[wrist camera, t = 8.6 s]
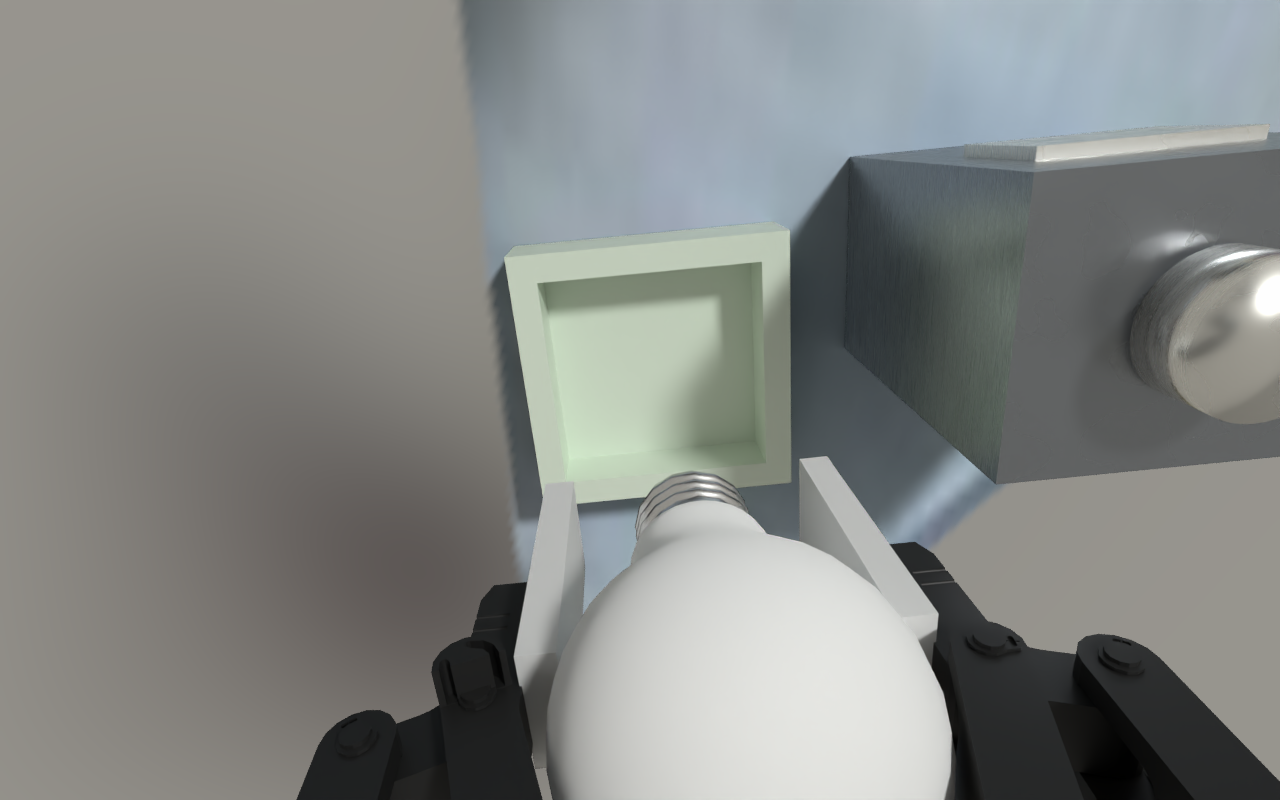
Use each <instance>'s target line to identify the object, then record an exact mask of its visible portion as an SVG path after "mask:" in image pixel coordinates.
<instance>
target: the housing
mask: <svg viewBox="0 0 1280 800" xmlns="http://www.w3.org/2000/svg"><path fill="white" fill-rule="evenodd" d="M1269 127H1270V124H1247V125H1197V126H1155V127H1145V128H1134V129H1124V130H1113V131H1103V132H1092V133H1082V134H1071V135H1061V136H1050V137H1040V138H1029V139H1019V140H1008V141H998V142H987V143H977V144H966V145H964V146H960V147H949V148H939V149H928V150H918V151H907V152H897V153H886V154H876V155H865V156H855V157H850V176H849V215H848V253H847V291H846V329H845V349H846V350H847V351H848V352H849V353H850V354H852V355H853V356H854V357H855V358H856V359H857V360H858V361H859V362H860V363H862V364H863V365H864V366H865V367H866V368H867V369H868V370H869V371H870V372H872V373H873V374H874V375H875V376H876V377H877V378H878V379H879V380H880V381H882V382H883V383H884V384H885V385H886V386H887V387H888V388H889V389H890V390H892V391H893V392H894V393H895V394H896V395H897V396H898V397H899V398H900V399H902V400H903V401H904V402H905V403H906V404H907V405H908V406H909V407H910V408H912V409H913V410H914V411H915V412H916V413H917V414H918V415H919V416H920V417H922V418H923V419H924V420H925V421H926V422H927V423H928V424H929V425H930V426H931V427H933V428H934V429H935V430H936V431H937V432H938V433H939V434H940V435H941V436H943V437H944V438H945V439H946V440H947V441H948V442H949V443H950V444H951V445H953V446H954V447H955V448H956V449H957V450H958V451H959V452H960V453H961V454H963V455H964V456H965V457H966V458H967V459H968V460H969V461H970V462H971V463H973V464H974V465H975V466H976V467H977V468H978V469H979V470H980V471H981V472H983V473H984V474H985V475H986V476H987V477H988V478H989V479H990V480H991V481H993V482H994V483H995V484H1006V483H1016V482H1025V481H1036V480H1047V479H1057V478H1067V477H1077V476H1087V475H1097V474H1107V473H1118V472H1128V471H1138V470H1148V469H1158V468H1169V467H1177V466H1188V465H1198V464H1208V463H1219V462H1228V461H1240V460H1250V459H1260V458H1270V457H1280V132H1278V133H1268V131H1269Z"/></svg>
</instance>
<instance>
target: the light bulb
mask: <svg viewBox="0 0 1280 800" xmlns="http://www.w3.org/2000/svg"><path fill="white" fill-rule="evenodd" d="M635 529H636V538H637V543H636V546H635V549H634V552H633V555H632V558H631V565H630V566H629V567H628V568H626V569H625V570H624V571H622V572H621V573H620V574H619V575H617V576H616V577H615V578H614V579H613V580H611V581H610V582H609V584H608V585H607V586H606V587H605V588H604V589H603V590H602V591H601V592H600V593H599V594H598V595H597V596H596V598H595V599H594V600H593V601H592V602H591V603H590V604H589V606H588V608H587V609H586V611H585V612H584V614H583V616H582V617H581V619H580V621H579V622H578V624H577V626H576V627H575V629H574V631H573V633H572V635H571V637H570V638H569V640H568V642H567V644H566V646H565V648H564V650H563V652H562V655H561V658H560V662H559V665H558V668H557V671H556V674H555V677H554V681H553V685H552V690H551V694H550V699H549V703H548V709H547V725H546V766H547V775H548V780H549V785H550V789H551V794H552V799H553V800H954V798H955V774H956V754H955V749H954V743H953V737H952V731H951V726H950V722H949V717H948V712H947V708H946V703H945V698H944V694H943V691H942V689H941V687H940V685H939V683H938V681H937V679H936V677H935V674H934V672H933V670H932V668H931V666H930V664H929V662H928V660H927V658H926V656H925V654H924V652H923V649H922V647H921V645H920V643H919V641H918V639H917V637H916V635H915V634H914V632H913V631H912V630H911V629H910V627H909V626H908V625H907V624H906V623H905V621H904V620H903V619H902V618H901V617H900V615H899V614H898V613H897V612H896V611H895V609H894V608H893V607H892V606H891V605H890V603H889V602H888V601H887V600H886V599H885V598H884V596H883V595H882V594H881V593H880V592H879V590H878V589H877V588H876V587H875V586H873V585H872V584H871V583H869V582H868V581H867V580H865V579H864V578H862V577H861V576H860V575H858V574H857V573H856V572H854V571H853V570H852V569H850V568H849V567H847V566H846V565H844V564H843V563H842V562H840V561H839V560H837V559H836V558H834V557H833V556H831V555H830V554H827V553H825V552H823V551H821V550H819V549H816V548H814V547H812V546H810V545H808V544H805V543H803V542H799V541H795V540H791V539H787V538H783V537H779V536H774V535H770V534H766V532H765V530H764V529H763V528H762V527H761V526H760V525H759V524H758V523H757V521H756V520H755V519H754V518H753V517H751V516H750V515H749V513H748V508H747V507H746V505H745V500H744V499H743V498H742V496H741V495H740V493H739V492H738V491H737V489H736V488H735V486H734V485H733V484H731V483H730V482H728V481H726V480H724V479H723V478H721V477H719V476H717V475H716V474H711V473H704V472H697V471H687V472H682V473H677V474H672V475H670V476H669V477H667V478H665V479H664V480H662V481H661V482H659V483H657V484H656V485H654V487H653V488H652V489H651V491H650V492H649V494H648V495H647V496H646V498H645V499H644V501H643V502H642V503H641V505H640V506H639V510H638V515H637V520H636V524H635Z"/></svg>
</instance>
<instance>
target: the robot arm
mask: <svg viewBox="0 0 1280 800" xmlns="http://www.w3.org/2000/svg"><path fill="white" fill-rule="evenodd" d="M799 542H803V543H805V544H808V545H810V546H812V547H814V548H816V549H819V550H821V551H823V552H825V553H827V554H830V555H831V556H833V557H834V558H836V559H837V560H839V561H840V562H842V563H843V564H844V565H846V566H847V567H849V568H850V569H852V570H853V571H854V572H856V573H857V574H858V575H860V576H861V577H862V578H864V579H865V580H867V581H868V582H869V583H871V584H872V585H873V586H875V587H876V588H877V589H878V590H879V592H880V593H881V594H882V595H883V596H884V598H885V599H886V600H887V601H888V602H889V603H890V605H891V606H892V607H893V608H894V609H895V611H896V612H897V613H898V614H899V615H900V617H901V618H902V619H903V620H904V621H905V623H906V624H907V625H908V626H909V627H910V629H911V630H912V631H913V632H914V634H915V635H916V637H917V639H918V641H919V643H920V645H921V647H922V649H923V652H924V654H925V656H926V658H927V660H928V662H929V664H930V666H931V668H932V670H933V672H934V674H935V677H936V679H937V681H938V683H939V685H940V687H941V689H942V691H943V694H944V698H945V703H946V708H947V712H948V717H949V722H950V726H951V731H952V737H953V743H954V749H955V754H956V774H955V798H954V800H1280V781H1279V780H1278V779H1277V778H1276V777H1275V776H1274V775H1273V774H1272V773H1271V772H1270V771H1269V770H1268V769H1267V768H1266V767H1265V766H1264V765H1263V764H1262V763H1261V762H1260V761H1259V760H1258V759H1257V758H1256V757H1255V756H1254V755H1253V754H1252V753H1251V752H1250V750H1249V749H1248V748H1247V747H1245V745H1244V744H1243V743H1242V742H1241V741H1240V740H1239V739H1238V738H1237V737H1236V736H1235V735H1234V734H1233V733H1232V732H1231V731H1230V730H1229V729H1228V728H1227V727H1226V726H1225V725H1224V724H1223V723H1222V722H1221V721H1220V720H1219V718H1218V717H1216V715H1214V713H1212V711H1211V710H1210V709H1209V708H1208V707H1207V706H1206V705H1205V704H1204V703H1203V702H1202V701H1201V700H1200V699H1199V698H1198V697H1197V696H1196V695H1195V694H1194V693H1193V692H1192V691H1191V690H1190V689H1189V688H1188V686H1186V684H1185V683H1183V682H1182V680H1181V679H1180V678H1179V677H1178V676H1177V675H1176V674H1175V673H1174V672H1173V671H1172V670H1171V669H1170V668H1169V667H1168V666H1167V665H1166V664H1165V663H1164V662H1163V661H1162V660H1161V659H1160V658H1159V657H1158V656H1157V655H1155V654H1154V653H1153V652H1151V651H1150V650H1149V649H1148V648H1146V647H1144V646H1142V645H1140V644H1138V643H1136V642H1134V641H1132V640H1129V639H1126V638H1122V637H1119V636H1115V635H1105V634H1096V635H1091V636H1086V637H1084V638H1083V639H1082V640H1081V641H1079V642H1078V646H1077V651H1076V654H1069V653H1061V652H1054V651H1046V650H1039V649H1034V648H1030V647H1027V645H1026V644H1025V643H1024V641H1023V639H1022V638H1021V637H1020V636H1018V635H1017V634H1016V633H1015V632H1013V631H1012V630H1011V629H1008V628H1006V627H1004V626H1002V625H1000V624H997V623H993V622H988V621H987V620H986V619H985V617H984V616H983V615H982V614H981V612H980V611H979V610H978V609H977V607H976V606H975V605H974V604H973V602H972V601H971V600H970V599H969V597H968V596H967V595H966V594H965V592H964V591H963V590H962V589H961V587H960V586H959V585H958V584H957V583H955V582H954V579H953V578H952V576H951V575H950V574H949V572H948V571H945V567H944V566H943V565H942V564H941V563H940V561H939V560H938V559H937V558H936V556H935V555H934V554H933V553H932V552H930V551H928V550H927V549H925V548H924V547H922V546H920V545H919V544H917V543H916V542H908V543H898V544H889V543H888V542H887V540H886V539H885V537H884V536H883V535H882V533H881V532H880V530H879V529H878V527H877V526H876V525H875V523H874V522H873V520H872V519H871V518H870V516H869V515H868V513H867V512H866V511H865V509H864V508H863V506H862V505H861V503H860V502H859V501H858V499H857V498H856V496H855V495H854V494H853V492H852V491H851V489H850V488H849V486H848V485H847V484H846V482H845V481H844V479H843V478H842V477H841V475H840V474H839V472H838V471H837V470H836V468H835V467H834V465H833V464H832V462H831V461H830V460H829V458H828V457H827V456H823V457H813V458H803V459H799ZM584 580H585V561H584V553H583V546H582V539H581V531H580V524H579V517H578V510H577V502H576V495H575V488H574V481H569V482H559V483H549V484H546V485H545V490H544V496H543V501H542V506H541V512H540V517H539V523H538V528H537V533H536V539H535V544H534V550H533V555H532V561H531V566H530V571H529V577H528V582H523V583H514V584H504V585H494V586H493V587H492V588H491V590H490V591H489V592H488V593H487V594H486V595H485V597H484V598H483V599H482V600H481V603H480V607H479V610H478V614H477V620H476V621H475V625H474V628H473V633H472V635H471V637H468V638H464V639H461V640H459V641H457V642H454V643H452V644H450V645H449V646H448V647H447V648H445V649H444V650H443V651H441V652H440V654H439V655H438V656H437V658H436V659H435V661H434V662H433V666H432V677H433V681H434V685H435V689H436V693H437V697H438V701H439V706H437V707H435V708H434V709H432V710H431V711H429V712H426V713H424V714H422V715H420V716H417V717H414V718H411V719H409V720H406V721H403V722H400V723H397V724H396V723H395V721H394V719H393V718H392V716H391V715H390V714H388V713H385V712H383V711H381V710H366V711H363V712H360V713H356V714H353V715H351V716H349V717H347V718H345V719H344V720H342V721H340V722H338V723H337V724H336V725H335V726H334V727H333V728H332V729H331V730H329V731H328V732H327V733H326V734H325V736H324V737H323V739H322V741H321V742H320V744H319V745H318V748H317V750H316V752H315V755H314V757H313V760H312V762H311V765H310V767H309V770H308V772H307V775H306V778H305V780H304V783H303V785H302V787H301V790H300V792H299V795H298V797H297V800H542V796H541V792H540V788H539V785H538V781H537V778H536V773H535V769H540V768H547V766H546V725H547V709H548V703H549V699H550V694H551V690H552V685H553V681H554V677H555V674H556V671H557V668H558V665H559V662H560V658H561V655H562V652H563V650H564V648H565V646H566V644H567V642H568V640H569V638H570V637H571V635H572V633H573V631H574V629H575V627H576V626H577V624H578V622H579V621H580V619H581V617H582V616H583V598H584ZM532 753H533V759H534V764H535V769H534V766H533V762H532V758H531V756H532Z"/></svg>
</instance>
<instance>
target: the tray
mask: <svg viewBox="0 0 1280 800" xmlns="http://www.w3.org/2000/svg"><path fill="white" fill-rule="evenodd" d="M504 260H505V266H506V272H507V278H508V285H509V291H510V297H511V303H512V309H513V315H514V322H515V328H516V334H517V340H518V346H519V353H520V359H521V365H522V371H523V377H524V383H525V390H526V396H527V402H528V408H529V414H530V420H531V427H532V433H533V439H534V445H535V451H536V458H537V464H538V470H539V476H540V482H541V488H542V495H543V496H544V490H545V485H546V484H549V483H559V482H569V481H574V488H575V495H576V502H577V504H579V503H589V502H600V501H610V500H620V499H630V498H640V497H646V496H647V495H648V494H649V492H650V491H651V489H652V488H653V487H654V485H656V484H657V483H659V482H661V481H662V480H664V479H665V478H667V477H669V476H670V475H672V474H677V473H682V472H687V471H697V472H704V473H711V474H716V475H717V476H719V477H721V478H723V479H724V480H726V481H728V482H730V483H731V484H733V485H734V486H735V488H742V487H752V486H763V485H773V484H783V483H791V334H790V230H789V229H787V228H785V227H783V226H781V225H779V224H777V223H775V222H763V223H752V224H742V225H732V226H721V227H711V228H700V229H690V230H679V231H669V232H659V233H648V234H638V235H627V236H617V237H606V238H596V239H585V240H575V241H565V242H554V243H544V244H533V245H523V246H514V247H513V248H512V249H511V250H510V252H509V253H508V254H507V255H506V256H505V257H504Z"/></svg>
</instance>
